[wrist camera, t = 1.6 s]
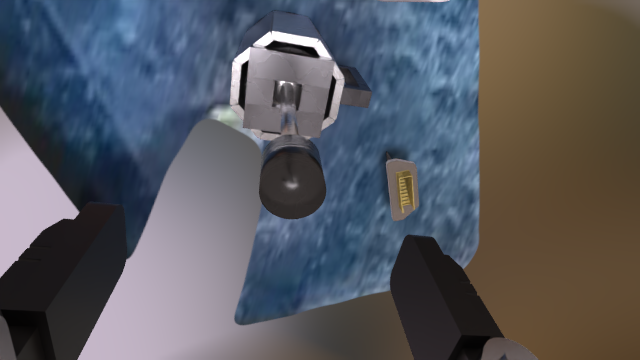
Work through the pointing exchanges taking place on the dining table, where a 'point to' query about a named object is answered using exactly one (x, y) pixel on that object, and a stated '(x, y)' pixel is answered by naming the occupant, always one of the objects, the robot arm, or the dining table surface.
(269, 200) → the plunger
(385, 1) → the champagne flute
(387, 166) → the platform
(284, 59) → the press pot
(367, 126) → the dining table surface
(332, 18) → the dining table surface
